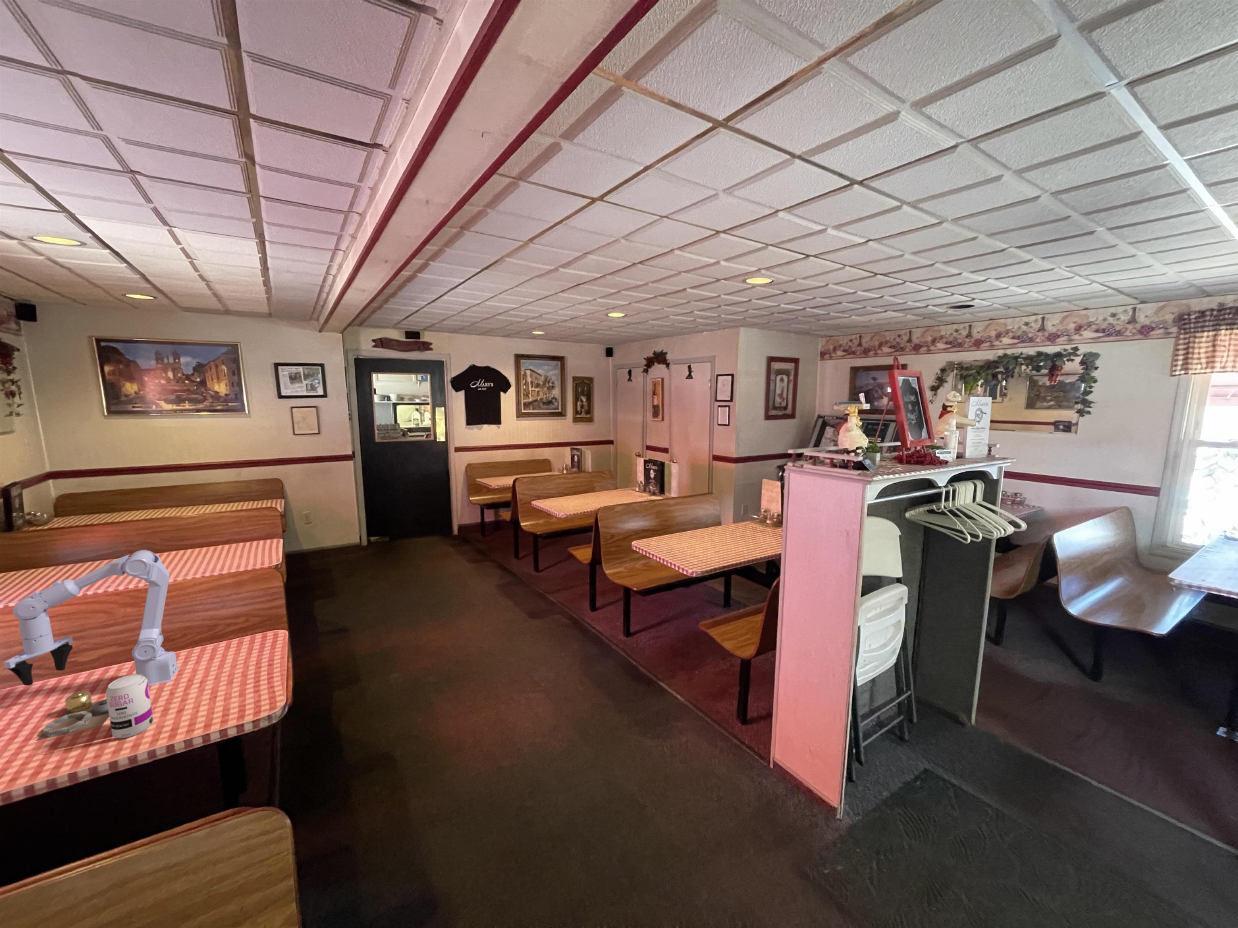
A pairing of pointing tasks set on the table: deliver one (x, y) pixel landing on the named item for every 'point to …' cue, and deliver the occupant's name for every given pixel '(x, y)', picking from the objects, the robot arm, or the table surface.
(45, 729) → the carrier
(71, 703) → the brass knob
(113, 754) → the table surface
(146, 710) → the supplement can
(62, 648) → the robot arm
